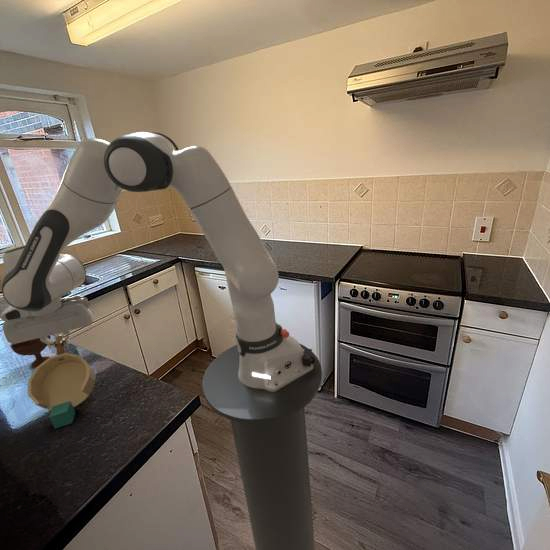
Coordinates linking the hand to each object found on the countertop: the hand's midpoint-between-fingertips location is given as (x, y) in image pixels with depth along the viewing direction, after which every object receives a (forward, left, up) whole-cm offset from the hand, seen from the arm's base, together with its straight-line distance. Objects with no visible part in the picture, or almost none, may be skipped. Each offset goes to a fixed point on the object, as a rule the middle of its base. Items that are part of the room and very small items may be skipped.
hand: (60, 345), depth 86 cm
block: (0, +13, -12) cm, 18 cm away
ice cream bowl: (+14, -21, -14) cm, 29 cm away
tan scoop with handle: (0, +3, -8) cm, 8 cm away
